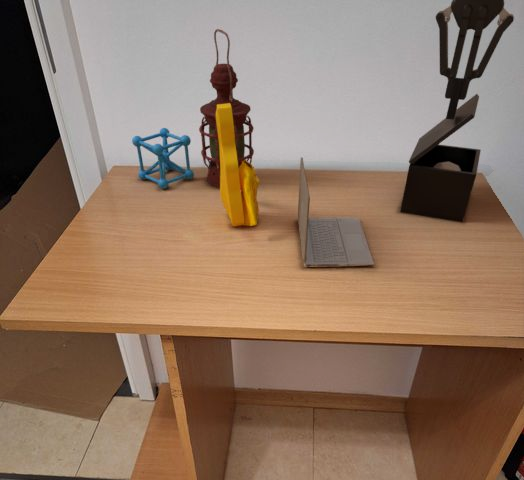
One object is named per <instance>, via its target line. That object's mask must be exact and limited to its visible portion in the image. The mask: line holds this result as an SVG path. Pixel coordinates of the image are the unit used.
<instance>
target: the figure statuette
mask: <svg viewBox="0 0 524 480" xmlns="http://www.w3.org/2000/svg"><path fill="white" fill-rule="evenodd" d="M216 123H217V131H218V139H219V149H220V188H219V197H220V200H221V203H222V206H223V207H224V209H225V211H226V214H227V216H228V218H229V220H230V223H231V227H239V226H240V227H241V226H247V227H255V226H257V225H258V219H259V218H258V217H259V212H260V209H259V203H258V199H257V198H258V197H257V196H258V187H259V184H260V182H261V180H260V179H259V177H258V176H257V172H256V170H255V167H254V165H253V164H252V163H251V164H250V161H249V160H248V161H247V159H246V160H244V161H242V164H241V165H240V167H239V168H238V160H237V153H236V146H235V135H234V124H233V115H232V107H231V104H230V103H227V104H218V105H217V109H216Z"/></svg>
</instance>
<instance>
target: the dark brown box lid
mask: <svg viewBox="0 0 524 480" xmlns="http://www.w3.org/2000/svg"><path fill="white" fill-rule="evenodd" d="M479 99H480V95H479V93H476V94H474V95H473V96H471V98H469V99H468V100H467V101H465V102H464V103H463V104H462V105H460V106H459V107H457V110H456V114H455V117H454V120H453V119H446V117H445V118H444V119H442V120H441V121H439V122H438V123H437V124H435V126H433V127H432V128H431V129H430V130H428V131H427V132H425V134H423V135H422V136H421V137H419V139H418V141H417V142H416V145H415V147H414V149H413V151H412V154H411V156H410V158H409V160H408V163H409V165H410V164H413V163H414V162H415V161H417V160H418V159H419V158H421V157H422V156H423V155H425V154H426V153H427V152H429V151H430V150H432V149H433V148H434V147H436V146H437V145H438V144H439V145H441V143H443V142H444V141H445V140H447V139H448V138H449V137H450V136H452V135H453V134H455V132H457V131H459V130H460V129H461V128H463V127H464V126H465V125H467V124H468V123H470V122H471V121H472V120H473V119H475V116H476V112H477V108H478V103H479Z"/></svg>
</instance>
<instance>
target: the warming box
mask: <svg viewBox="0 0 524 480" xmlns="http://www.w3.org/2000/svg"><path fill="white" fill-rule="evenodd" d="M480 156H481V149H479V148H471V147H462V146H454V145H446V144H438V145H437V146H436V147H434V148H433V149H432V150H430V151H429V152H427V153H426V154H425V155H423V156H422V157H421V158H419V159H418V160H417V161H415V162H414V163H413V164H410V163H409V165H408V170H407V176H406V180H405V185H404V190H403V196H402V201H401V206H400V209H399V212H400V213H402V214H410V215H416V216H422V217H427V218H428V217H429V218H434V219H441V220H446V221H452V222H459V223H463V222H464V220H465V219H464V218H465V215H466V211H467V209H468V206H469V201H470V198H471V195H472V191H473V187H474V185H475V181H476V177H477V174H478V169H479V161H480ZM448 161H449V162H451V163H453V164H456V165H458V166H459V168H460V169H461V171H456V170H448V169H441V168H433V167H434V166H435V165H436V164H437V163H442V162H448Z"/></svg>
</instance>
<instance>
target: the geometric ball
mask: <svg viewBox="0 0 524 480" xmlns="http://www.w3.org/2000/svg"><path fill="white" fill-rule="evenodd" d="M433 168H441V169H448V170H456V171H461V169H460V168H459V166H458V165H456V164H453V163H451V162H449V161H448V162H442V163H437V164H436V165H435V166H434V167H433Z"/></svg>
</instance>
